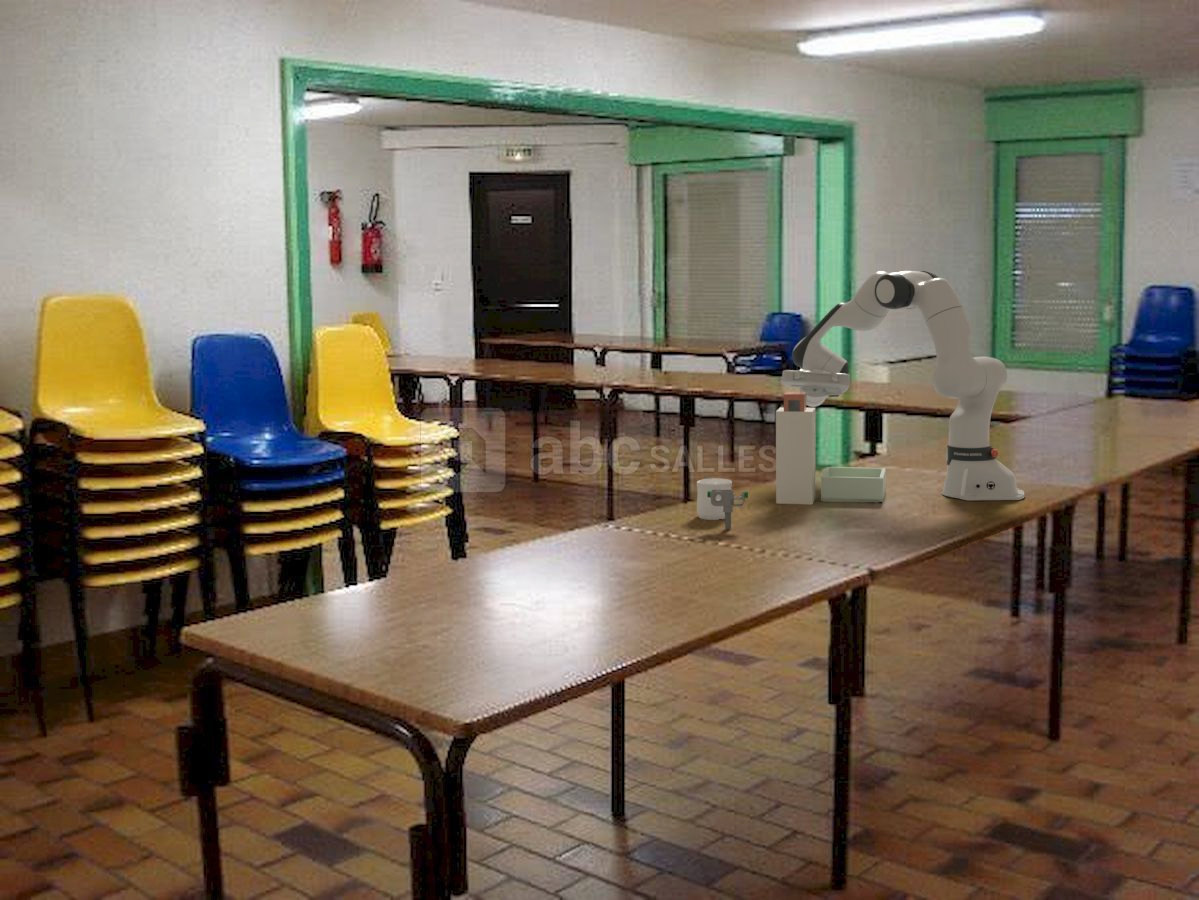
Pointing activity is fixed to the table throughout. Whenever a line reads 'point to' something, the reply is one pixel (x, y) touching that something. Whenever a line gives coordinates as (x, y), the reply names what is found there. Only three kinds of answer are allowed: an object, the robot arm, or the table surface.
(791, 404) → the grey long block
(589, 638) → the table surface
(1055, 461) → the table surface
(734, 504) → the mechanical component
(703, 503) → the cup
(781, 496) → the cream block
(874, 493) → the green bin
